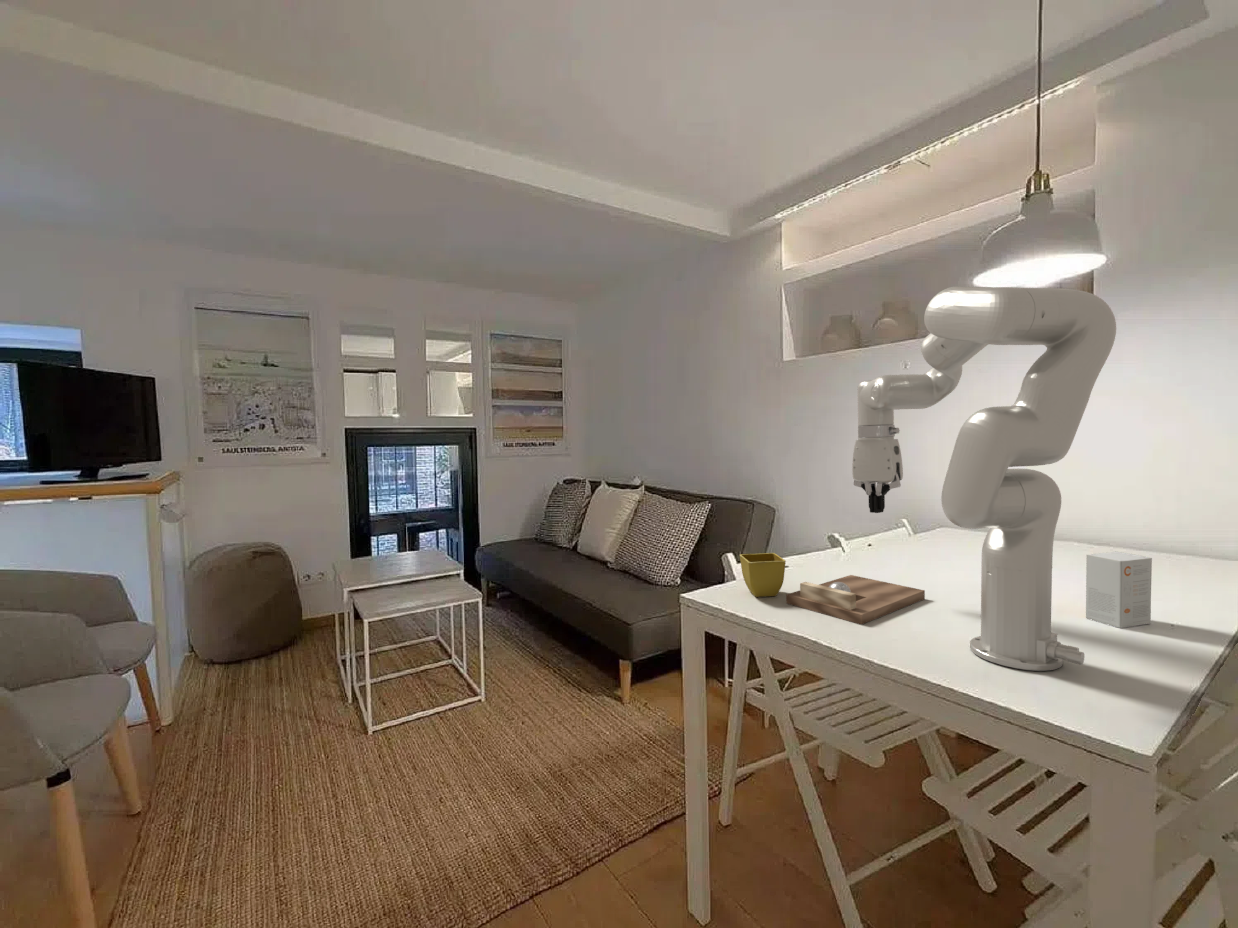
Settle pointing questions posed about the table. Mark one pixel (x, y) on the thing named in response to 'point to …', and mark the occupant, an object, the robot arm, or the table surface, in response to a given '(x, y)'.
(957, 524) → the robot arm
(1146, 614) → the small box
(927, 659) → the table surface
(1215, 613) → the table surface
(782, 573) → the flower pot
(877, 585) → the walnut board
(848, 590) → the steel ball
